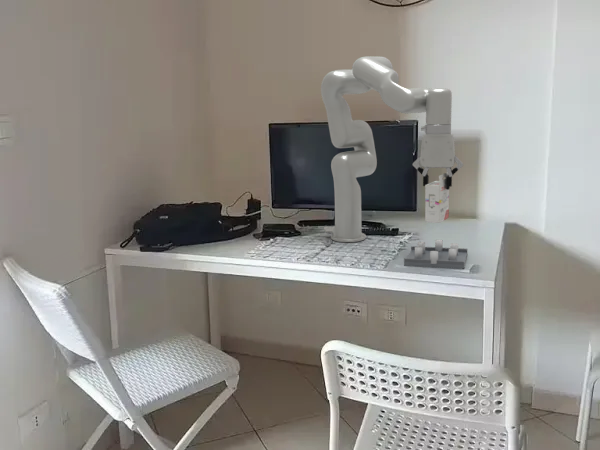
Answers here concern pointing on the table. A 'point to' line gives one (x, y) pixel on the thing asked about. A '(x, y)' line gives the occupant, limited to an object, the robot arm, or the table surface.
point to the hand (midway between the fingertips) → (437, 188)
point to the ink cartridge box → (437, 200)
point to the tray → (440, 258)
